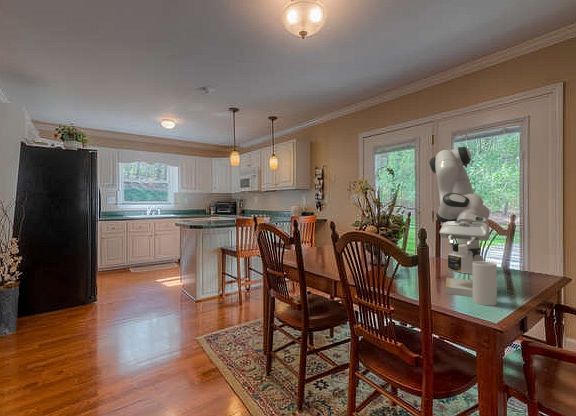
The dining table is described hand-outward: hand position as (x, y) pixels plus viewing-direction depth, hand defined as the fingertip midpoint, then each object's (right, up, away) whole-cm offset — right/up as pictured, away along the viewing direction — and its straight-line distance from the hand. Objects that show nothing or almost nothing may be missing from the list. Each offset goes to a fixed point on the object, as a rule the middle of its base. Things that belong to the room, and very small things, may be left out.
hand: (459, 245), depth 137 cm
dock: (+2, -21, +3) cm, 21 cm away
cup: (+2, -22, -14) cm, 26 cm away
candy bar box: (-23, -21, +31) cm, 44 cm away
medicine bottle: (+1, -12, +1) cm, 12 cm away
